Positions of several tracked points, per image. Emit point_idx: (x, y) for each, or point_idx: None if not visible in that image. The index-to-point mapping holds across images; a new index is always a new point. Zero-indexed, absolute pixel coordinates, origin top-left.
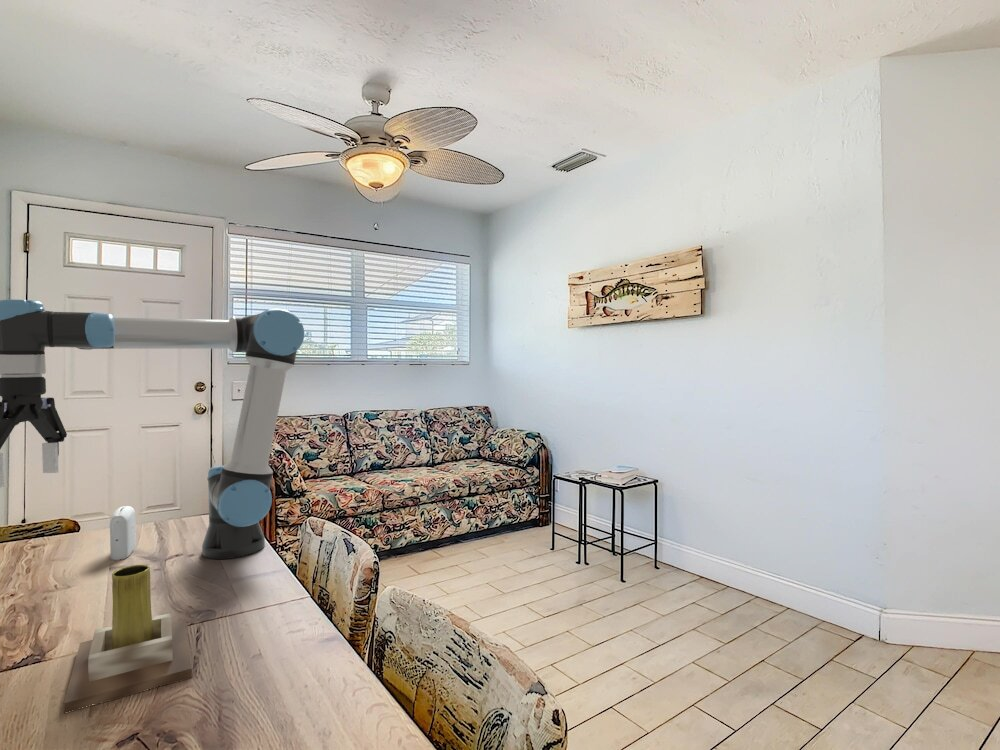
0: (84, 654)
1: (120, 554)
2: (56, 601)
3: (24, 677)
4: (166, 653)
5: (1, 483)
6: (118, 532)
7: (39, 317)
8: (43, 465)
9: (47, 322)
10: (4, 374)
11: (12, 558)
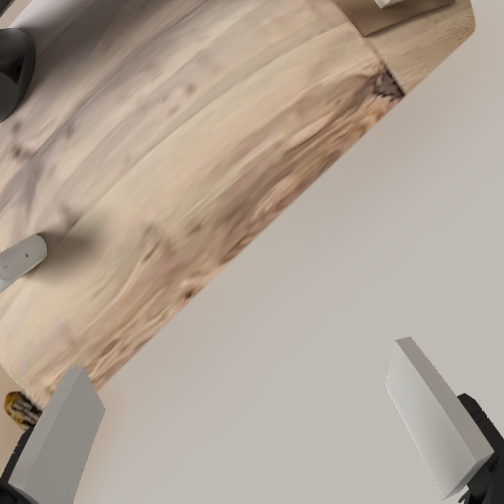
0: (391, 15)
1: (39, 241)
2: (207, 198)
3: (416, 67)
4: None
5: (412, 348)
6: (17, 258)
7: None
8: (94, 432)
9: None
10: None
11: None
